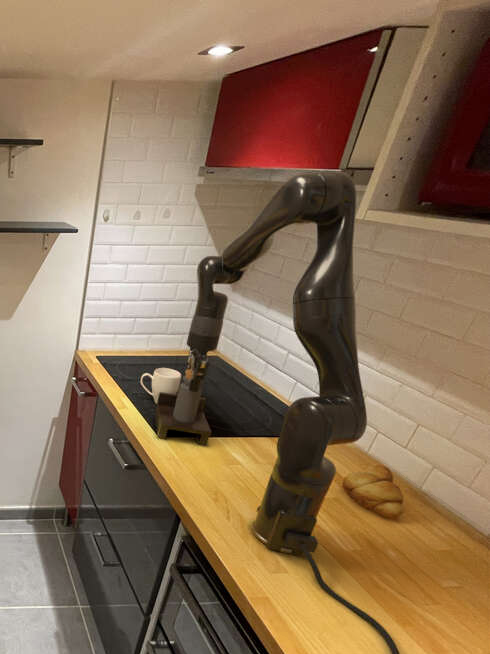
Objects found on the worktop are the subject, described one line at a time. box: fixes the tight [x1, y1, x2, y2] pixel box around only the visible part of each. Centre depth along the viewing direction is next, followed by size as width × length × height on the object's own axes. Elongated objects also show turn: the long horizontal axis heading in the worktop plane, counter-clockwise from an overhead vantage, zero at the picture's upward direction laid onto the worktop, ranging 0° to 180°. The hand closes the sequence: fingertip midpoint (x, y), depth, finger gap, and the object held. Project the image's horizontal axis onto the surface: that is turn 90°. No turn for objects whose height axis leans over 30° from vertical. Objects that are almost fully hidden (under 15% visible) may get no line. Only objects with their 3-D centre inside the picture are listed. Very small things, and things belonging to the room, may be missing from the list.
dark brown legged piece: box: [153, 392, 212, 447], centre depth 133 cm, size 14×13×9 cm
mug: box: [140, 367, 182, 405], centre depth 151 cm, size 12×8×11 cm
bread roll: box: [342, 464, 405, 519], centre depth 105 cm, size 13×10×8 cm
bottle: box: [173, 368, 204, 423], centre depth 129 cm, size 6×6×15 cm
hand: (191, 386), depth 128 cm, fingers closed on bottle, 5 cm apart
